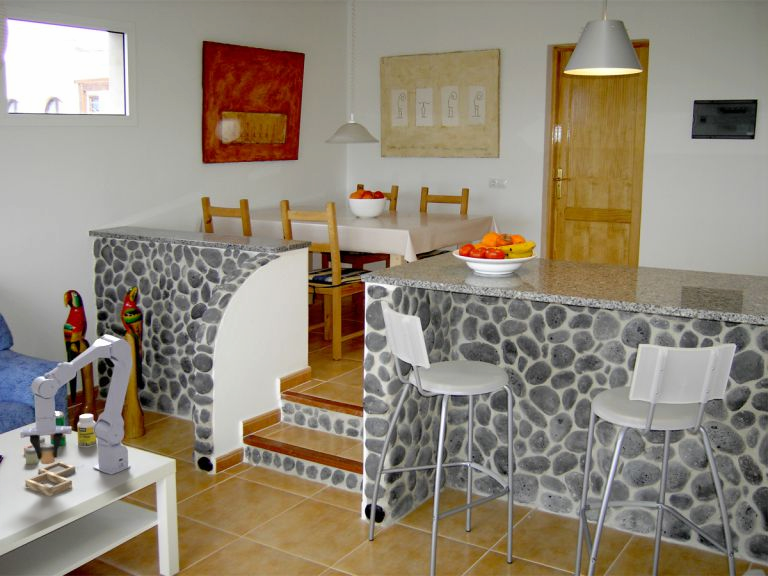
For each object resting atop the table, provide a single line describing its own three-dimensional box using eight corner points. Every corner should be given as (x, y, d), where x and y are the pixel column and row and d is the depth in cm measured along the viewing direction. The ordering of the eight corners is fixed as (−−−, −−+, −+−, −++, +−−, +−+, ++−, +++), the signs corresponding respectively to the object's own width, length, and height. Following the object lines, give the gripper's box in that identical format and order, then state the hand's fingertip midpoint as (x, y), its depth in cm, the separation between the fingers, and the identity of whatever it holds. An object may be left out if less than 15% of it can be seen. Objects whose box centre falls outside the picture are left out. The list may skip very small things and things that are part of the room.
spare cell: (41, 463, 275) (40, 449, 274) (30, 467, 271) (30, 452, 270) (34, 460, 277) (33, 446, 276) (23, 464, 273) (22, 450, 272)
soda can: (60, 448, 287) (59, 416, 285) (47, 447, 288) (45, 414, 286) (69, 443, 292) (67, 411, 290) (56, 442, 293) (54, 410, 291)
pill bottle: (77, 449, 287) (76, 419, 285) (78, 443, 293) (77, 413, 291) (96, 448, 289) (94, 418, 287) (97, 441, 295) (95, 412, 293)
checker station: (93, 478, 263) (93, 472, 263) (49, 496, 250) (49, 489, 250) (60, 466, 272) (59, 459, 272) (15, 482, 259) (15, 476, 259)
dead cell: (48, 452, 282) (47, 438, 281) (37, 456, 279) (36, 442, 278) (40, 450, 284) (40, 436, 283) (30, 453, 281) (29, 439, 280)
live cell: (53, 463, 255) (53, 448, 254) (40, 464, 254) (39, 449, 253) (55, 459, 259) (55, 443, 258) (42, 459, 258) (41, 444, 257)
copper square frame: (54, 453, 283) (53, 445, 282) (36, 460, 277) (36, 451, 276) (41, 449, 286) (41, 441, 286) (24, 455, 281) (23, 447, 280)
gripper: (71, 409, 259) (73, 450, 262) (21, 413, 255) (23, 454, 257) (69, 416, 253) (71, 458, 255) (18, 420, 248) (21, 463, 251)
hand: (47, 457), depth 256 cm, fingers closed on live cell, 4 cm apart
